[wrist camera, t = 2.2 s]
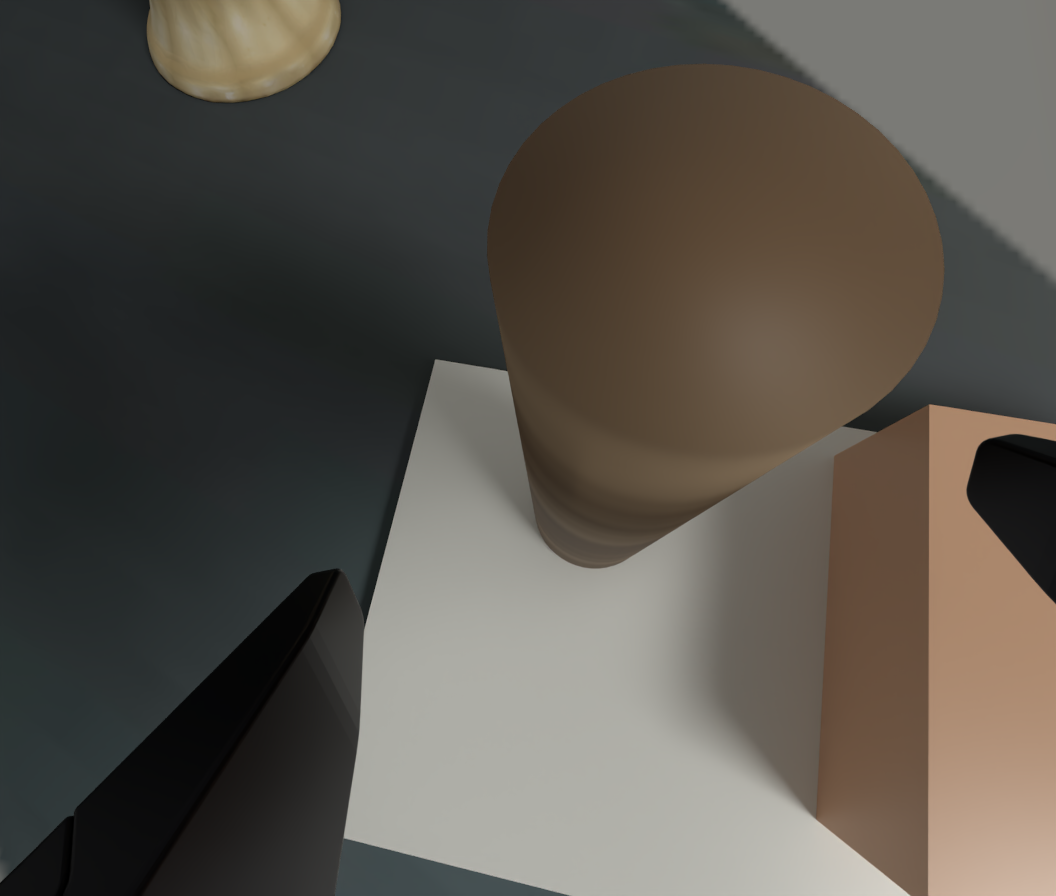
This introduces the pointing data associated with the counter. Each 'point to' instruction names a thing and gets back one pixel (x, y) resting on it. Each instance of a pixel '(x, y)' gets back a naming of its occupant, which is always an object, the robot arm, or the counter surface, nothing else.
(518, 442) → the collar plate
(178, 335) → the counter surface
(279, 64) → the hand bell
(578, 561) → the walnut peg
